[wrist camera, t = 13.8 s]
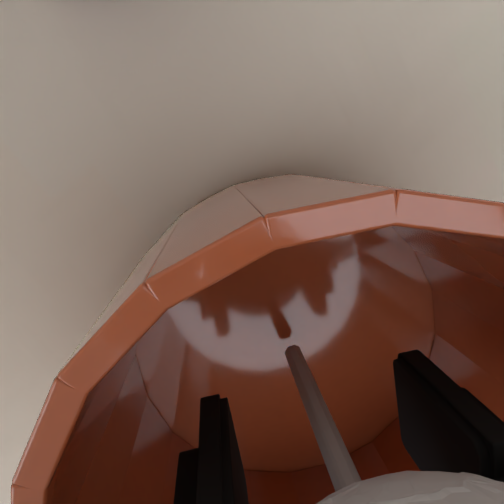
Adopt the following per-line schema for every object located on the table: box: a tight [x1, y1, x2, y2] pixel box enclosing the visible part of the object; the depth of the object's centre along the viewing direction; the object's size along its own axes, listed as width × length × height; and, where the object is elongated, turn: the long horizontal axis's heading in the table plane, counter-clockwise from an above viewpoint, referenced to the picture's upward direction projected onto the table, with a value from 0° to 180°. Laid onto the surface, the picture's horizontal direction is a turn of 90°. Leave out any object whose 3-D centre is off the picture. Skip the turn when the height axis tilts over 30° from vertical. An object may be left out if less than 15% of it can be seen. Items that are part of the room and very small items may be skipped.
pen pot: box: [11, 174, 504, 504], centre depth 12 cm, size 14×14×10 cm
